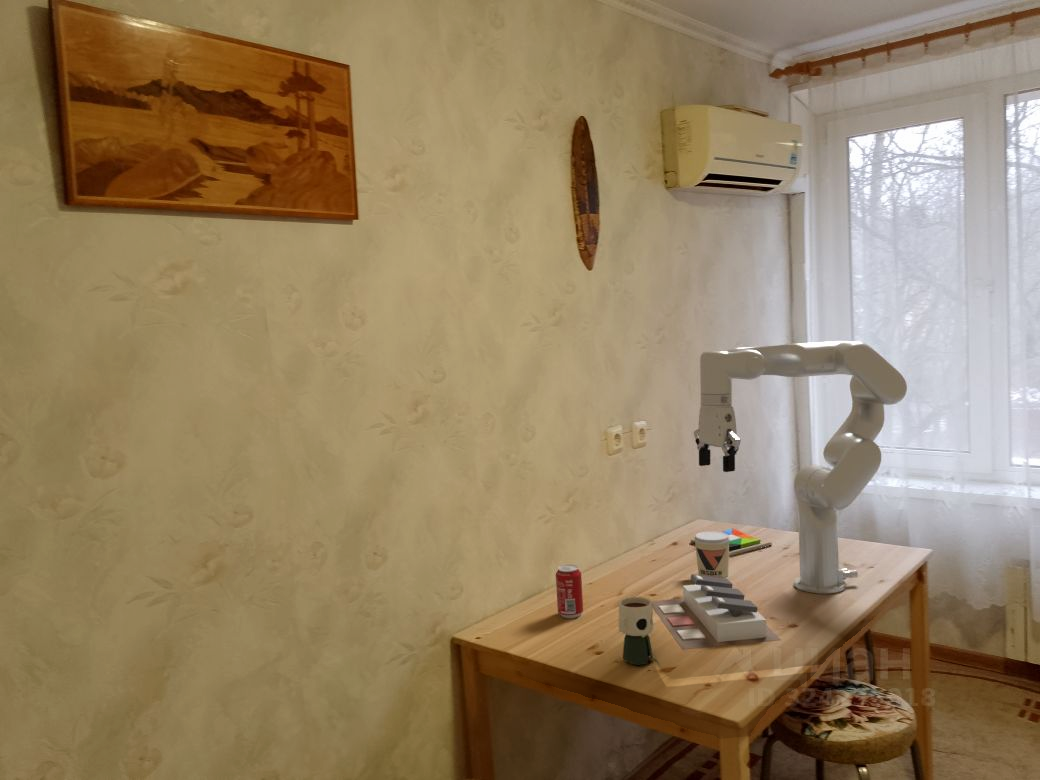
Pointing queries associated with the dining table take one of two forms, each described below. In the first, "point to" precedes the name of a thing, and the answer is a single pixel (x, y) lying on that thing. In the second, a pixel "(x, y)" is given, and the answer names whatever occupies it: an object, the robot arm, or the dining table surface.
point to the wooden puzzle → (741, 542)
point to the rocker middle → (722, 592)
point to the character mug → (636, 628)
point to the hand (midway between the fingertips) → (716, 468)
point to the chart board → (694, 626)
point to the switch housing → (723, 618)
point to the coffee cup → (712, 553)
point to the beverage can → (569, 591)
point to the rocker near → (734, 605)
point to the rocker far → (711, 581)
